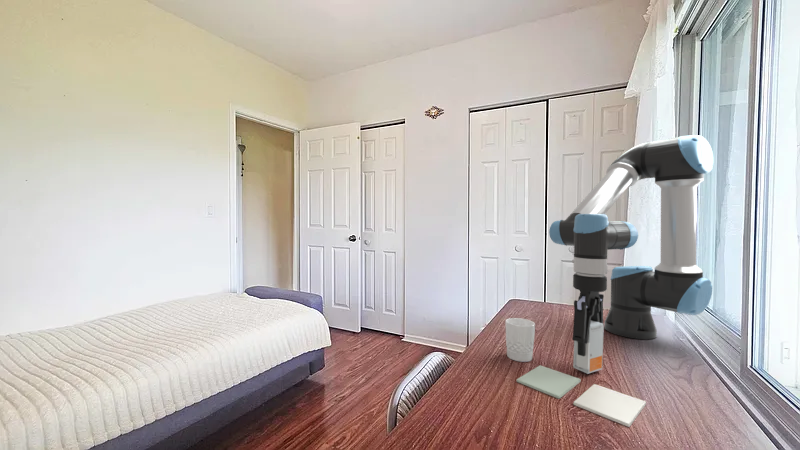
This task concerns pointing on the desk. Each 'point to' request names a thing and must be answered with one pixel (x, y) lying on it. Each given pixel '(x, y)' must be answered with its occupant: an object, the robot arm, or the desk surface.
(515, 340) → the white cup
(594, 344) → the skincare box
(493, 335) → the desk surface
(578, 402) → the taller pad
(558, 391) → the shorter pad
